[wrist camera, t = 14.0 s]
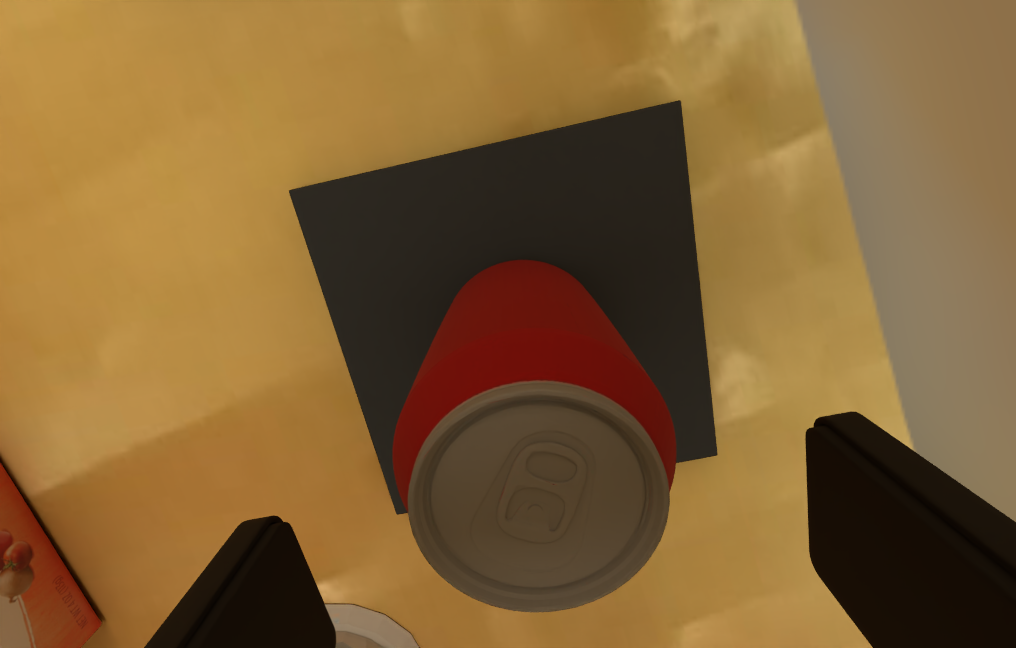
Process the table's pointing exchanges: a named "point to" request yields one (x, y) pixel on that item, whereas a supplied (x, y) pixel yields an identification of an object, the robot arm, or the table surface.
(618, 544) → the beverage can
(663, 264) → the mat
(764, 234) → the table surface
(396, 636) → the french press
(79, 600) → the cracker box
